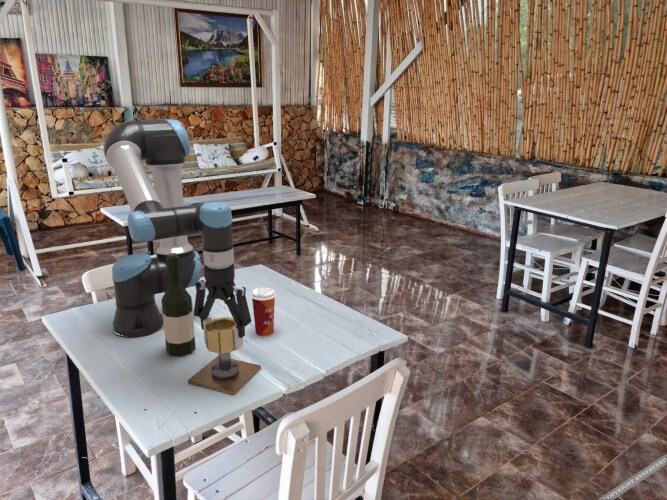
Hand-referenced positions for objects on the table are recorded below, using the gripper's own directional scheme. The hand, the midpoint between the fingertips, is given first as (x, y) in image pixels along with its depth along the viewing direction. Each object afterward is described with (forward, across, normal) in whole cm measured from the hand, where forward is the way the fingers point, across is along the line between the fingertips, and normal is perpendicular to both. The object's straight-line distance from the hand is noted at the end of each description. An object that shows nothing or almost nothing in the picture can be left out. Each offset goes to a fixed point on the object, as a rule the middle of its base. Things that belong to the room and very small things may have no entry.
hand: (223, 344), depth 140 cm
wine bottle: (+10, -20, +7) cm, 23 cm away
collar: (0, 0, 0) cm, 0 cm away
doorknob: (+10, 0, 0) cm, 10 cm away
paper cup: (+10, -3, +27) cm, 29 cm away
